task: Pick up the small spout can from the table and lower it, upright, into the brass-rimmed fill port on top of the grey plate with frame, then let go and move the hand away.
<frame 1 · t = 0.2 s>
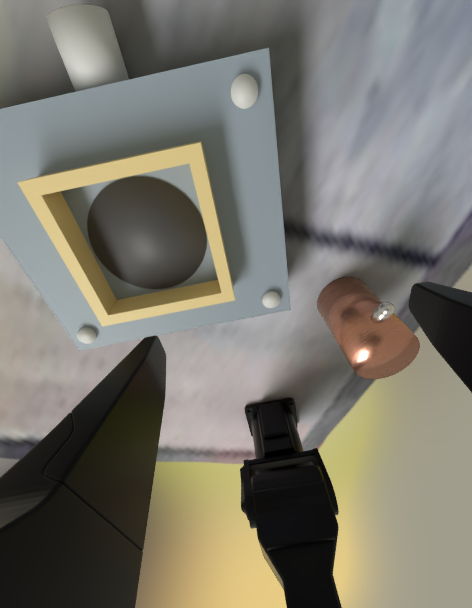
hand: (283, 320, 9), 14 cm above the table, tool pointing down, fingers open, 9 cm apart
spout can: (342, 299, 27), on the table
grey plate with frame: (158, 221, 21), on the table
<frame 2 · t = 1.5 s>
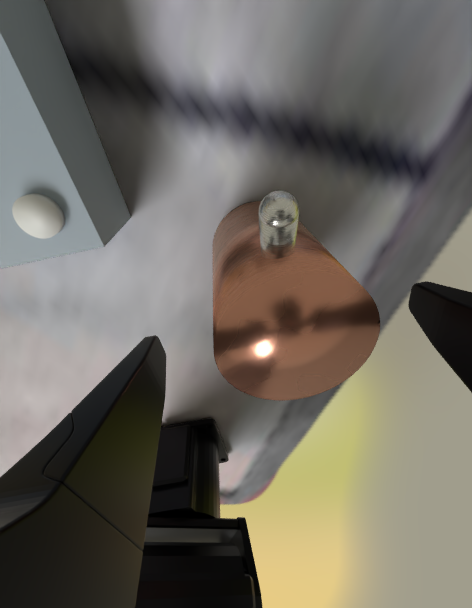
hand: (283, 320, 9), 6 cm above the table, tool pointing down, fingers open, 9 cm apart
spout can: (258, 248, 15), on the table
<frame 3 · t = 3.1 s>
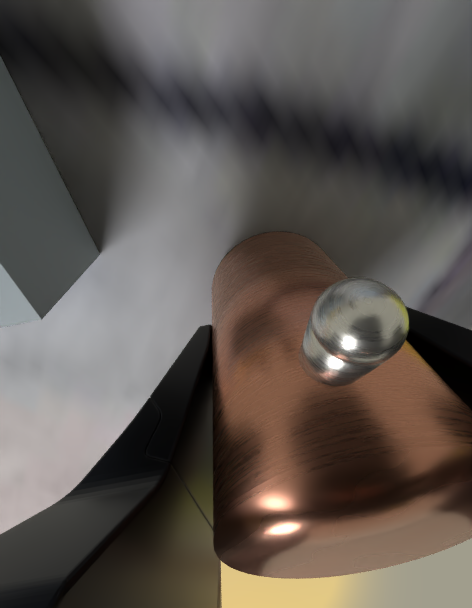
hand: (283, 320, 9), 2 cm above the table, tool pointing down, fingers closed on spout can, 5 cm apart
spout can: (272, 290, 11), on the table, touching gripper
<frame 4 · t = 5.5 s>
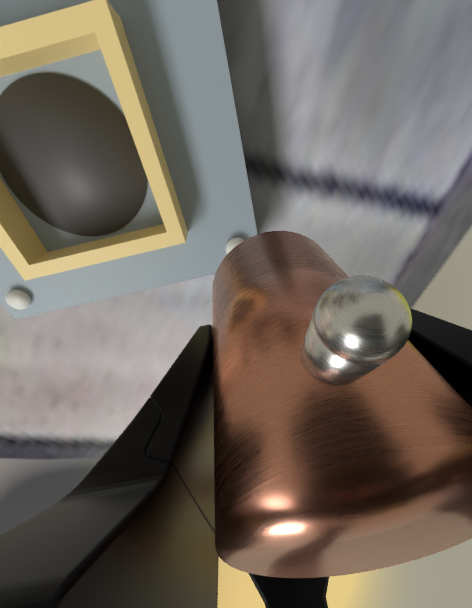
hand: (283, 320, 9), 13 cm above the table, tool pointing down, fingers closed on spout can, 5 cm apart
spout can: (273, 290, 11), point 11 cm above the table, touching gripper
grey plate with frame: (100, 159, 18), on the table
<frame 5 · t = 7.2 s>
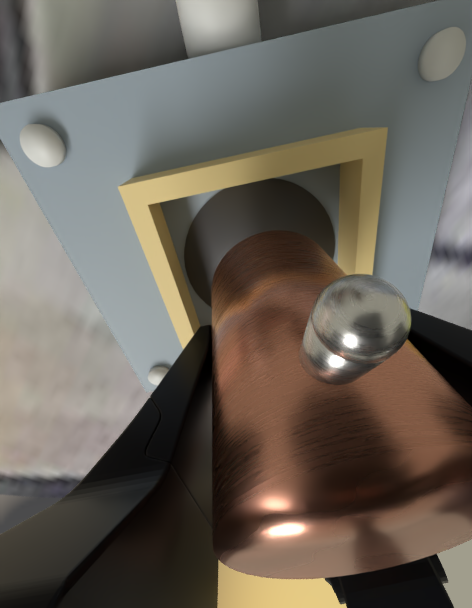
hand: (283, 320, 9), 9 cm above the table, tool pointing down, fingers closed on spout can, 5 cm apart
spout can: (272, 290, 11), point 7 cm above the table, touching gripper
grey plate with frame: (250, 233, 17), on the table
when the fingers open (8 cm above the table, at t = 8.4 s): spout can drops 1 cm, resting on grey plate with frame.
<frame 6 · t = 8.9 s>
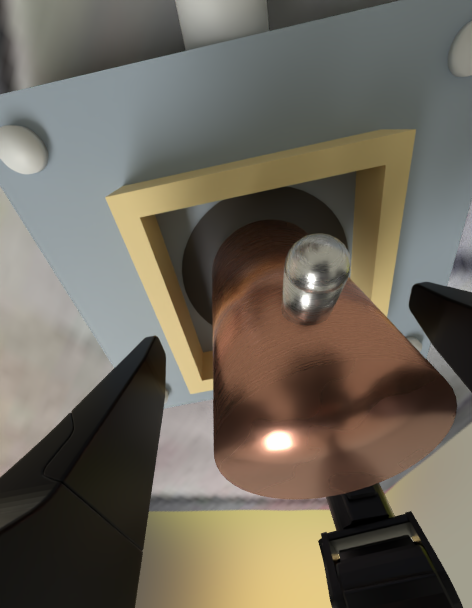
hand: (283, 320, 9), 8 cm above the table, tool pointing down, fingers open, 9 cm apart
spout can: (266, 274, 12), point 4 cm above the table, touching grey plate with frame
grey plate with frame: (253, 243, 16), on the table
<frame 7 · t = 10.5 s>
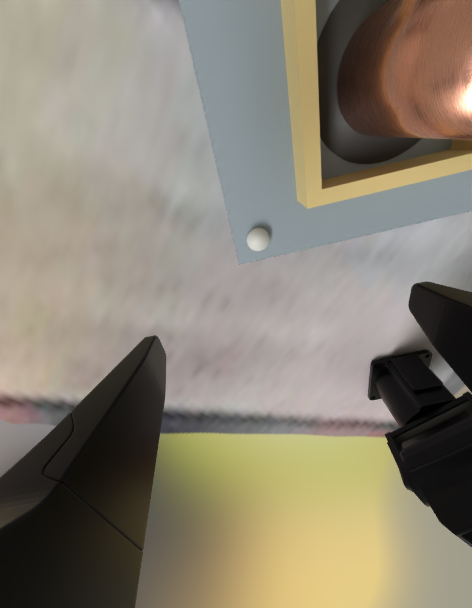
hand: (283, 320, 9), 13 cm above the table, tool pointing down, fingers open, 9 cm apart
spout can: (387, 75, 13), point 4 cm above the table, touching grey plate with frame
grey plate with frame: (350, 87, 16), on the table
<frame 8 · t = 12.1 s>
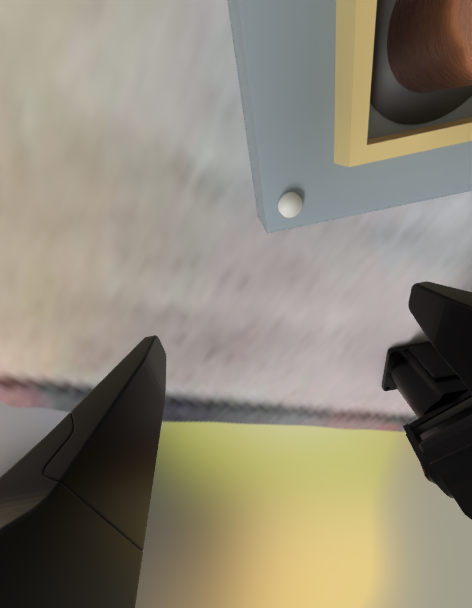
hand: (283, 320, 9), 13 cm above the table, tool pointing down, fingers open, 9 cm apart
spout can: (442, 23, 12), point 4 cm above the table, touching grey plate with frame
grey plate with frame: (390, 47, 16), on the table
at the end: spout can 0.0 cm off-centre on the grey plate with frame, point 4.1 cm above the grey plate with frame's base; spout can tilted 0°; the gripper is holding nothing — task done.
